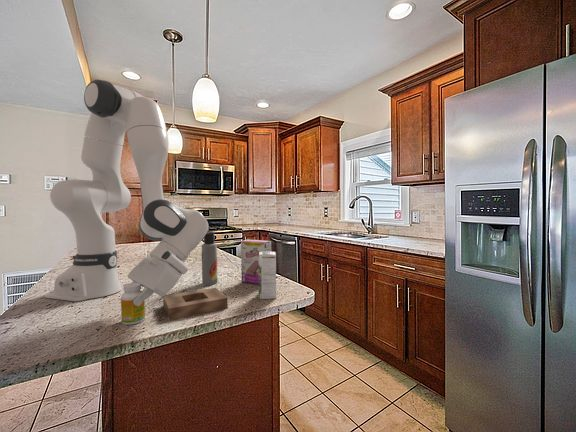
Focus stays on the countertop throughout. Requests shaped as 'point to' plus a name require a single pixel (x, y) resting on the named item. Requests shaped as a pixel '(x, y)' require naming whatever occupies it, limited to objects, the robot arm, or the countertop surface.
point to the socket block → (194, 302)
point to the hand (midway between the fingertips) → (130, 301)
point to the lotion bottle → (209, 260)
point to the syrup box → (267, 275)
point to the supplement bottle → (132, 305)
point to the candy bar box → (252, 258)
